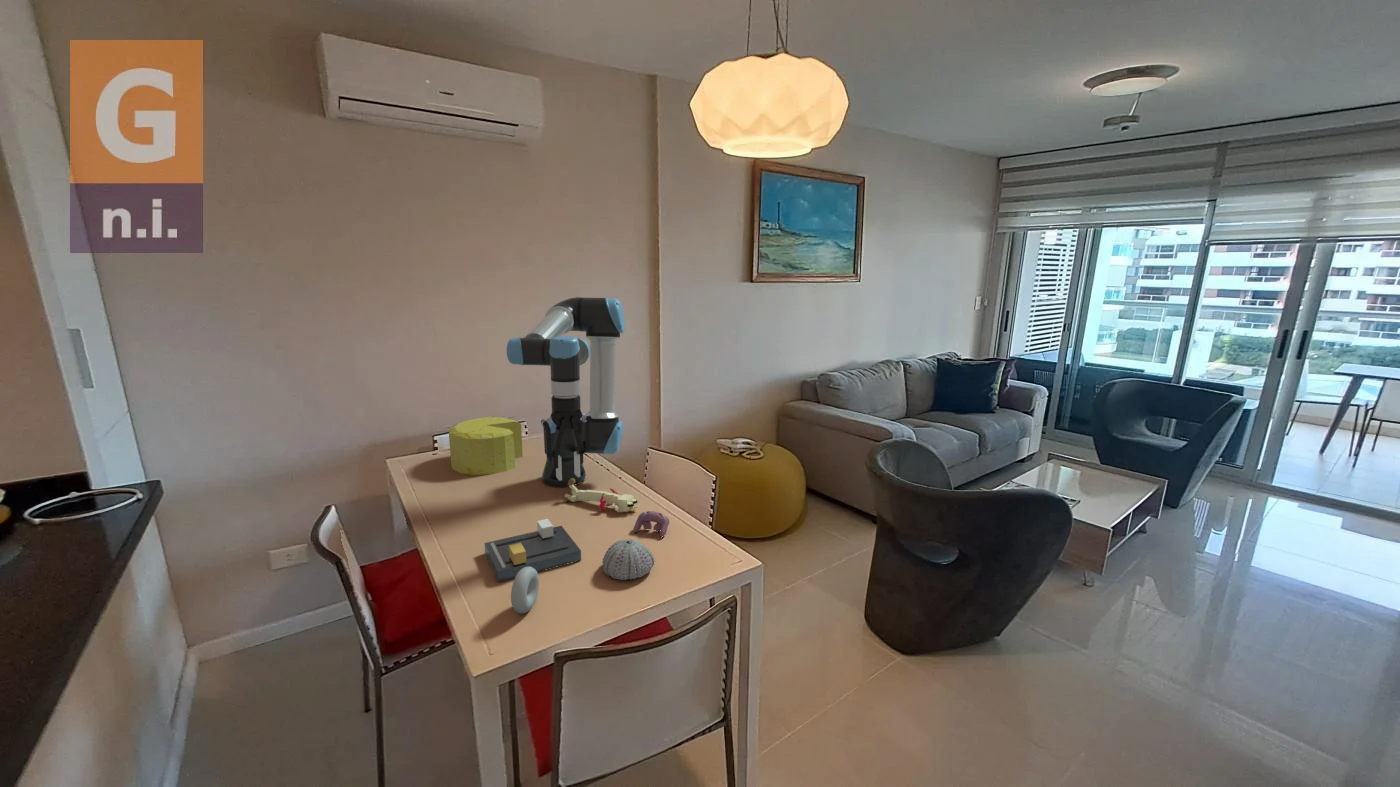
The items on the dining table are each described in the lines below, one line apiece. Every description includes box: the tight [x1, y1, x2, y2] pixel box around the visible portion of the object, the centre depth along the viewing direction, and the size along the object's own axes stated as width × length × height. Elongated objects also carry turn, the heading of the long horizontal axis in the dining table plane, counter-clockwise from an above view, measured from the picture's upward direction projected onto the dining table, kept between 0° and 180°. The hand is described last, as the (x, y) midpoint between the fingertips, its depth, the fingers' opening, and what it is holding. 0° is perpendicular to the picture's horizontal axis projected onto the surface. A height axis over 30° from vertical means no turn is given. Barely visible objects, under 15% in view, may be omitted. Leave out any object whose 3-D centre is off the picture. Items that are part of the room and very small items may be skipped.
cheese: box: [448, 416, 524, 476], centre depth 214 cm, size 26×26×15 cm
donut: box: [510, 567, 540, 614], centre depth 126 cm, size 10×4×10 cm, turn 173°
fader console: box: [484, 525, 582, 583], centre depth 149 cm, size 21×16×3 cm
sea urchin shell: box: [601, 538, 656, 581], centre depth 143 cm, size 13×14×8 cm
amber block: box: [509, 543, 526, 565], centre depth 141 cm, size 3×5×3 cm, turn 32°
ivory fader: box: [536, 518, 554, 538], centre depth 155 cm, size 3×5×3 cm, turn 32°
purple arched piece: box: [633, 510, 670, 538], centre depth 164 cm, size 10×5×7 cm, turn 72°
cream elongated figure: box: [563, 478, 639, 513], centre depth 180 cm, size 10×9×25 cm
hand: (568, 476), depth 155 cm, fingers open, 4 cm apart
